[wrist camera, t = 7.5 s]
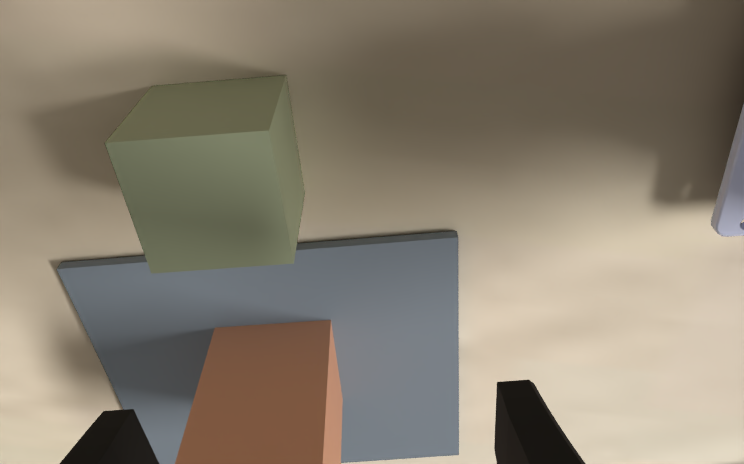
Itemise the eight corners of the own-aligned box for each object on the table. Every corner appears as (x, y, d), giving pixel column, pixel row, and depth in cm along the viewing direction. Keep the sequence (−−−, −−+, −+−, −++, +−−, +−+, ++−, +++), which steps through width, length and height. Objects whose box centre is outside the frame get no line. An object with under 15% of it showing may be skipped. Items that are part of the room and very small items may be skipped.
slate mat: (456, 231, 21) (458, 237, 20) (457, 447, 27) (458, 454, 27) (61, 262, 21) (56, 269, 21) (157, 467, 28) (154, 475, 27)
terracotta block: (330, 319, 22) (321, 475, 17) (342, 398, 25) (338, 556, 19) (214, 327, 22) (168, 484, 17) (237, 405, 25) (204, 564, 19)
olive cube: (286, 74, 18) (269, 130, 14) (305, 191, 20) (293, 263, 16) (152, 84, 18) (104, 142, 14) (186, 200, 20) (151, 273, 17)
